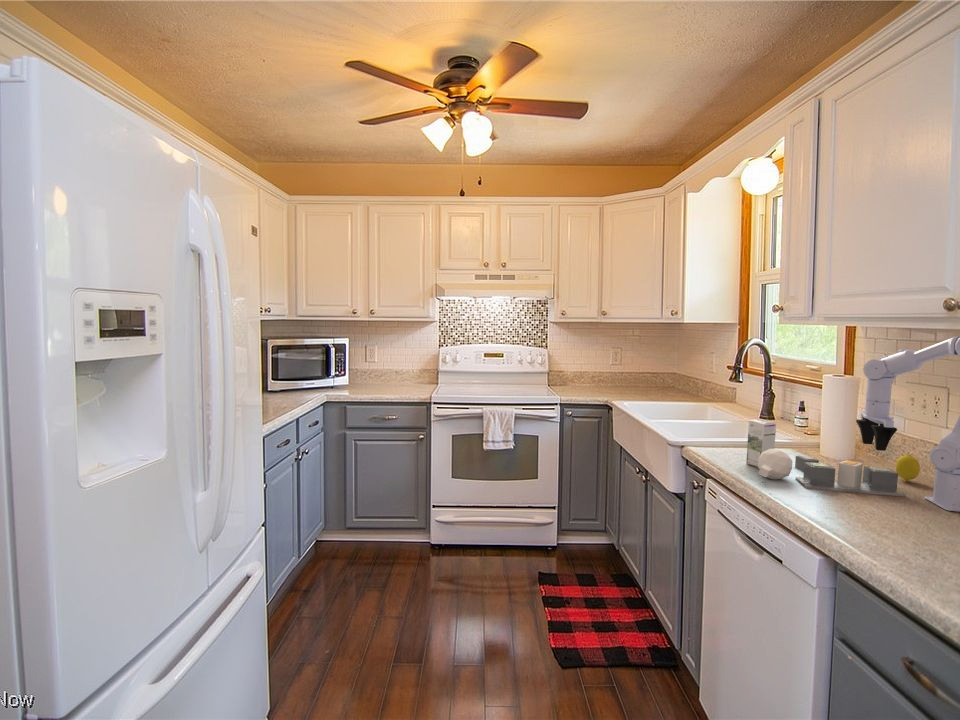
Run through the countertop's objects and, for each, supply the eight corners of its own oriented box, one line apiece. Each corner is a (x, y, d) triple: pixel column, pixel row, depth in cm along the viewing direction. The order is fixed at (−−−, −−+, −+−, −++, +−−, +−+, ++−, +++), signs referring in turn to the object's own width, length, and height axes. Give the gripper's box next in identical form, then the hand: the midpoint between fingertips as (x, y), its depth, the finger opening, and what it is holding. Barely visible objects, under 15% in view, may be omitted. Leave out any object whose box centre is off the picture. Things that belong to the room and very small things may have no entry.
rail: (905, 496, 140) (907, 474, 139) (805, 488, 145) (807, 467, 144) (889, 487, 147) (891, 466, 147) (795, 479, 153) (796, 459, 152)
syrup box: (774, 467, 165) (777, 422, 164) (760, 469, 163) (763, 423, 162) (758, 462, 170) (761, 418, 169) (745, 464, 168) (748, 419, 167)
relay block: (817, 473, 160) (819, 459, 160) (805, 472, 160) (806, 459, 160) (807, 468, 165) (808, 455, 165) (794, 468, 165) (795, 455, 165)
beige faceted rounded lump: (762, 464, 161) (743, 476, 154) (772, 439, 157) (754, 450, 150) (791, 479, 155) (773, 492, 148) (802, 454, 151) (785, 466, 144)
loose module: (860, 484, 147) (862, 462, 146) (853, 487, 144) (855, 465, 143) (844, 480, 150) (846, 459, 149) (837, 483, 147) (839, 462, 146)
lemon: (893, 477, 157) (895, 451, 157) (916, 480, 154) (919, 453, 154) (896, 482, 152) (898, 455, 152) (920, 485, 150) (923, 458, 149)
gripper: (908, 405, 144) (903, 454, 145) (880, 397, 158) (876, 442, 159) (878, 404, 145) (874, 452, 146) (854, 396, 159) (850, 440, 161)
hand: (873, 447), depth 153 cm, fingers open, 7 cm apart
